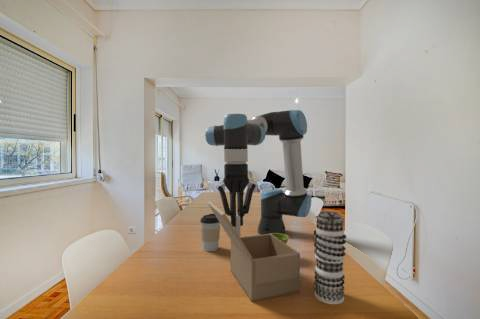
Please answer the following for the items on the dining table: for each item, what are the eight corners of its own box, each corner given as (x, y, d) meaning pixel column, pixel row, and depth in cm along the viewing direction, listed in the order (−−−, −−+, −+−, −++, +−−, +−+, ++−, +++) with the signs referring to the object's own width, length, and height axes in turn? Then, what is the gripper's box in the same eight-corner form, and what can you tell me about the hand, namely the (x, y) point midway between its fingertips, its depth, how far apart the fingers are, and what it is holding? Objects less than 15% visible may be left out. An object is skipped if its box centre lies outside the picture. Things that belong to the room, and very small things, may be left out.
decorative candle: (328, 308, 69) (329, 218, 69) (306, 291, 78) (307, 211, 77) (352, 301, 73) (353, 215, 73) (329, 285, 82) (330, 208, 81)
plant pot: (261, 254, 107) (261, 234, 107) (280, 251, 110) (280, 231, 110) (273, 263, 98) (273, 241, 98) (293, 259, 102) (293, 238, 102)
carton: (269, 264, 97) (270, 233, 97) (300, 292, 77) (300, 253, 77) (230, 270, 92) (230, 237, 92) (252, 302, 72) (252, 260, 72)
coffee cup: (217, 253, 108) (217, 218, 108) (197, 251, 110) (197, 217, 109) (222, 245, 117) (222, 213, 117) (204, 244, 119) (204, 212, 118)
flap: (209, 200, 88) (206, 202, 88) (224, 213, 70) (221, 215, 69) (231, 236, 91) (229, 238, 91) (252, 257, 73) (250, 259, 72)
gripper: (250, 162, 86) (251, 230, 87) (213, 163, 82) (214, 235, 83) (259, 162, 79) (260, 237, 80) (219, 164, 75) (220, 242, 76)
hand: (237, 236), depth 81 cm, fingers closed
